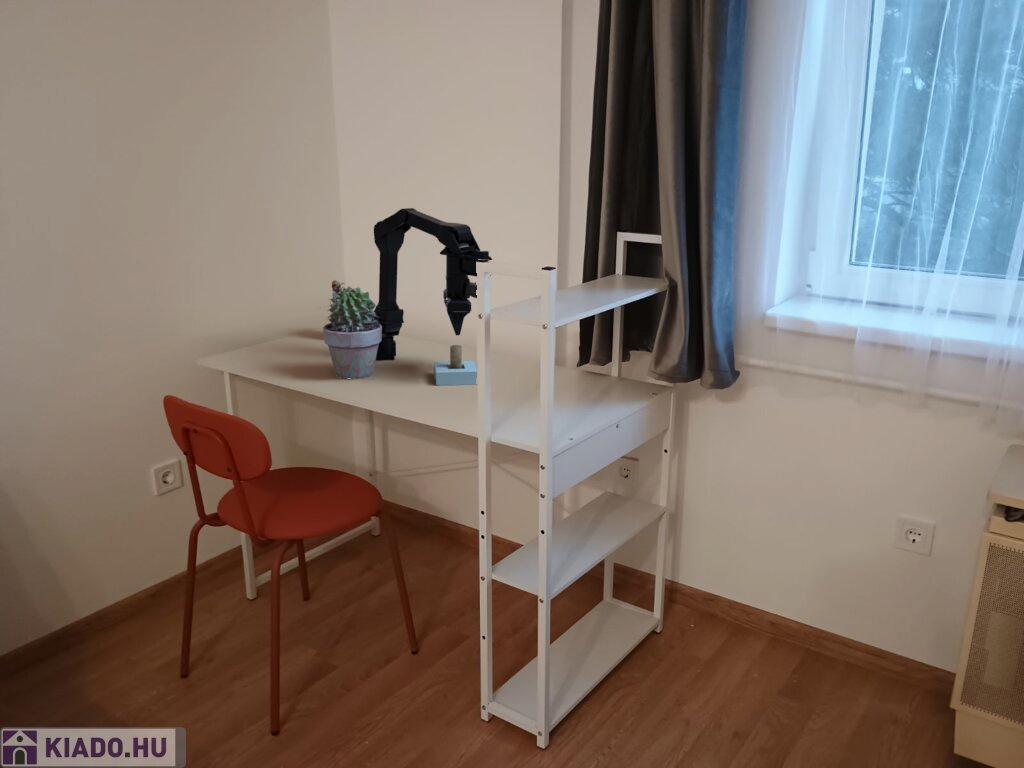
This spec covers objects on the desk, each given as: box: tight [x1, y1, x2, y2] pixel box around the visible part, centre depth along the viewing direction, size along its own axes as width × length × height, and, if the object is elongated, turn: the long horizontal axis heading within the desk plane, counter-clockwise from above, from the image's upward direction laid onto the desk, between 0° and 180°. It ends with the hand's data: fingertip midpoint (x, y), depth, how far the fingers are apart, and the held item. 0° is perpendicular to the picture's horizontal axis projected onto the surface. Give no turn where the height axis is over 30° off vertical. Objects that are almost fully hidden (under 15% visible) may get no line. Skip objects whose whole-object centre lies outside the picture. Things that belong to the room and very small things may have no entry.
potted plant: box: [318, 280, 390, 380], centre depth 236 cm, size 18×20×25 cm
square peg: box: [449, 344, 463, 369], centre depth 236 cm, size 3×3×9 cm
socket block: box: [433, 360, 478, 387], centre depth 236 cm, size 11×11×4 cm
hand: (456, 331), depth 237 cm, fingers open, 9 cm apart
